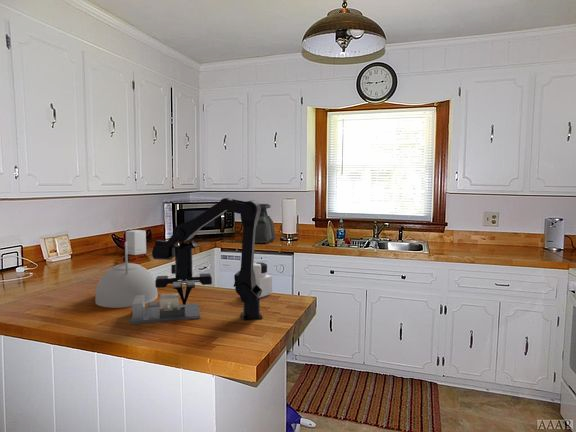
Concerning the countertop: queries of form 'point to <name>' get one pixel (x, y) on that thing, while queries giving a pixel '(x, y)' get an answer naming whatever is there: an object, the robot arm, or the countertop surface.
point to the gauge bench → (156, 314)
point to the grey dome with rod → (125, 285)
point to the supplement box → (136, 242)
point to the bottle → (264, 227)
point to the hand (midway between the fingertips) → (184, 304)
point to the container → (263, 278)
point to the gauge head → (166, 301)
